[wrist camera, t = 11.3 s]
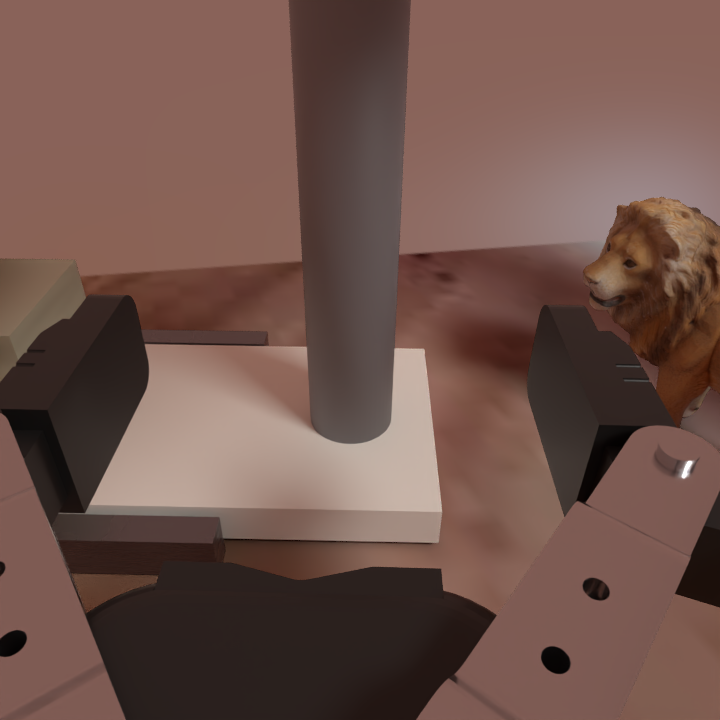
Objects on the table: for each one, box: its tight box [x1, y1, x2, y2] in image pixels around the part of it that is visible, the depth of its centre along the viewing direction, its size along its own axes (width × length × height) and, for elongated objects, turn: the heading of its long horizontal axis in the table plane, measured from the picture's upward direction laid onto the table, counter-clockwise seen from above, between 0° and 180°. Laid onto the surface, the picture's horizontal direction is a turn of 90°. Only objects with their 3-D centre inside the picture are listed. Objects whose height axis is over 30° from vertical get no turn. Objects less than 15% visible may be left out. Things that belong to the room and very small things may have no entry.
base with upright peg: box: [58, 0, 442, 543], centre depth 20 cm, size 20×9×16 cm, turn 89°
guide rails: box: [52, 330, 269, 575], centre depth 24 cm, size 16×12×2 cm
